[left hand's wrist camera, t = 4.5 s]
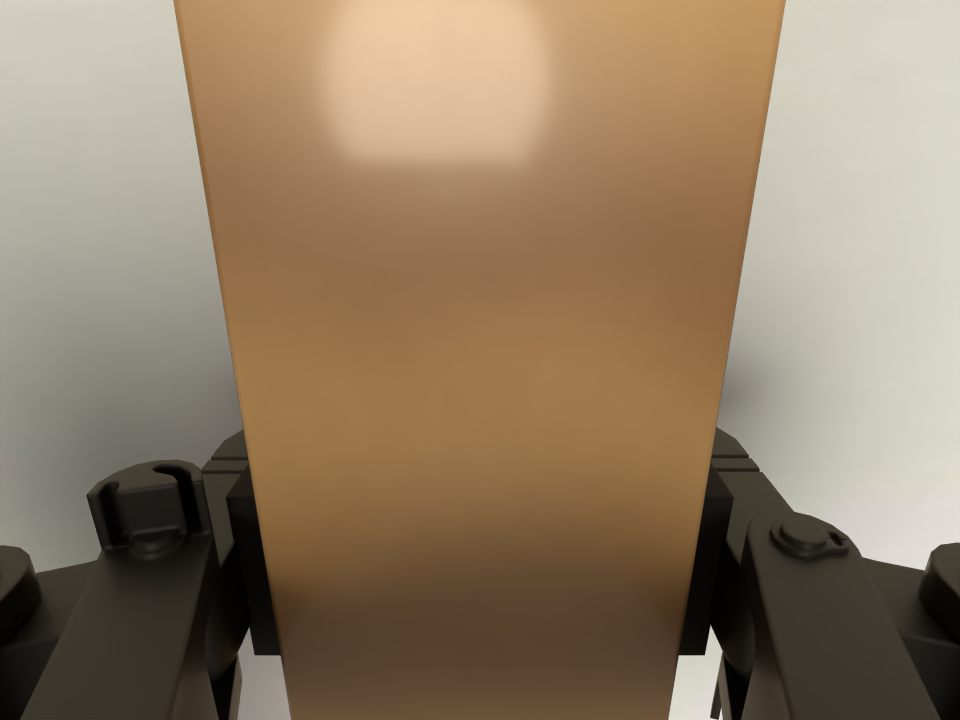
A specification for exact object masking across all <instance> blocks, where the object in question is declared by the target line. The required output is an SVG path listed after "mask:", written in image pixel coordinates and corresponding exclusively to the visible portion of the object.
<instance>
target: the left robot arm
mask: <svg viewBox="0 0 960 720" xmlns="http://www.w3.org/2000/svg"><path fill="white" fill-rule="evenodd" d="M86 496H87V499H88V503H89V506H90V510H91V513H92V517H93V520H94V524H95V527H96V531H97V534H98V538H99V541H100V545H101V548H102V551H101V553H100V555H99V557H98V559H97V560H96V561H92V562H88V563H84V564H79V565H74V566H69V567H64V568H60V569H55V570H50V571H45V572H40V573H35V570H34V567H33V564H32V562H31V559H30V556H29V554H27V553H26V552H25V551H23V550H22V549H21V548H18V547H11V546H4V545H2V546H0V720H237V717H238V709H239V701H240V692H241V684H242V675H241V668H240V662H239V657H238V651H239V649H240V646H241V644H242V642H243V640H244V637H245V635H246V633H247V631H248V629H249V627H250V632H251V638H252V643H253V648H254V654H255V655H281V654H280V648H279V642H278V636H277V630H276V624H275V617H274V611H273V605H272V599H271V593H270V587H269V581H268V575H267V569H266V563H265V556H264V550H263V544H262V538H261V532H260V526H259V520H258V514H257V508H256V502H255V495H254V489H253V483H252V477H251V471H250V465H249V459H248V453H247V447H246V440H245V434H244V429H243V430H241V431H240V432H238V433H236V434H235V435H233V436H232V437H230V438H228V439H227V440H225V441H224V442H223V443H222V444H221V446H220V447H219V448H218V449H217V451H216V452H215V453H214V454H213V456H212V457H211V461H208V462H207V463H206V465H205V466H204V467H203V468H202V470H200V469H199V468H198V467H197V466H195V465H194V464H193V463H189V462H184V461H180V460H160V461H153V462H148V463H143V464H138V465H135V466H132V467H129V468H127V469H124V470H121V471H119V472H116V473H114V474H112V475H111V476H109V477H107V478H106V479H104V480H102V481H101V482H99V483H97V484H96V485H95V486H94V488H93V489H92V490H91V491H90V492H89V493H88V494H87V495H86ZM710 624H711V626H712V629H713V631H714V633H715V635H716V637H717V640H718V642H719V644H720V646H721V648H722V651H723V652H722V657H721V662H720V667H719V672H718V677H717V682H716V687H715V692H714V697H713V702H712V709H711V716H710V718H713V719H717V720H719V715H720V710H721V707H722V715H723V720H960V543H951V544H943V545H940V546H938V547H937V548H936V549H935V550H933V551H932V552H931V554H930V557H929V560H928V563H927V566H926V569H925V571H924V570H919V569H914V568H909V567H904V566H899V565H894V564H889V563H884V562H879V561H875V560H871V559H867V558H863V557H862V556H861V554H860V552H859V550H858V548H857V547H856V546H855V545H854V543H853V542H852V541H851V539H850V538H849V537H848V536H847V535H845V534H844V533H843V532H841V531H840V530H838V529H837V528H836V527H834V526H833V525H831V524H829V523H826V522H824V521H822V520H820V519H817V518H815V517H813V516H810V515H805V514H801V513H797V512H794V511H793V510H792V509H791V507H790V506H789V505H788V504H787V502H786V501H785V500H784V499H783V497H782V496H781V495H780V494H779V492H778V491H777V490H776V489H775V487H774V486H773V485H772V484H771V482H770V481H769V480H768V479H767V477H766V476H765V475H764V474H763V472H760V471H759V467H758V466H757V465H756V464H755V462H754V461H753V460H752V459H751V458H749V455H748V454H747V452H746V451H745V450H744V449H743V447H742V446H741V445H740V444H739V442H738V441H737V440H736V439H735V438H733V437H732V436H730V435H728V434H727V433H725V432H724V431H722V430H720V429H719V428H717V427H716V430H715V436H714V442H713V448H712V454H711V461H710V467H709V473H708V479H707V485H706V491H705V497H704V503H703V510H702V516H701V522H700V528H699V534H698V540H697V546H696V552H695V558H694V565H693V571H692V577H691V583H690V589H689V595H688V601H687V607H686V613H685V620H684V626H683V632H682V638H681V644H680V650H679V655H705V652H706V646H707V641H708V635H709V630H710Z"/></svg>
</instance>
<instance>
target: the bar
mask: <svg viewBox="0 0 960 720" xmlns="http://www.w3.org/2000/svg"><path fill="white" fill-rule="evenodd" d="M173 1H174V7H175V13H176V19H177V25H178V32H179V38H180V44H181V50H182V56H183V62H184V68H185V74H186V80H187V87H188V93H189V99H190V105H191V111H192V117H193V123H194V129H195V135H196V141H197V148H198V154H199V160H200V166H201V172H202V178H203V184H204V190H205V196H206V202H207V209H208V215H209V221H210V227H211V233H212V239H213V245H214V251H215V257H216V264H217V270H218V276H219V282H220V288H221V294H222V300H223V306H224V312H225V318H226V325H227V331H228V337H229V343H230V349H231V355H232V361H233V367H234V373H235V379H236V386H237V392H238V398H239V404H240V410H241V416H242V422H243V428H244V434H245V440H246V447H247V453H248V459H249V465H250V471H251V477H252V483H253V489H254V495H255V502H256V508H257V514H258V520H259V526H260V532H261V538H262V544H263V550H264V556H265V563H266V569H267V575H268V581H269V587H270V593H271V599H272V605H273V611H274V617H275V624H276V630H277V636H278V642H279V648H280V654H281V660H282V666H283V672H284V678H285V685H286V691H287V697H288V703H289V709H290V715H291V720H668V717H669V711H670V705H671V699H672V693H673V687H674V681H675V675H676V669H677V662H678V656H679V650H680V644H681V638H682V632H683V626H684V620H685V613H686V607H687V601H688V595H689V589H690V583H691V577H692V571H693V565H694V558H695V552H696V546H697V540H698V534H699V528H700V522H701V516H702V510H703V503H704V497H705V491H706V485H707V479H708V473H709V467H710V461H711V454H712V448H713V442H714V436H715V430H716V424H717V418H718V412H719V406H720V399H721V393H722V387H723V381H724V375H725V369H726V363H727V357H728V351H729V344H730V338H731V332H732V326H733V320H734V314H735V308H736V302H737V295H738V289H739V283H740V277H741V271H742V265H743V259H744V253H745V247H746V240H747V234H748V228H749V222H750V216H751V210H752V204H753V198H754V192H755V185H756V179H757V173H758V167H759V161H760V155H761V149H762V143H763V136H764V130H765V124H766V118H767V112H768V106H769V100H770V94H771V88H772V81H773V75H774V69H775V63H776V57H777V51H778V45H779V39H780V33H781V26H782V20H783V14H784V8H785V2H786V0H173Z"/></svg>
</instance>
